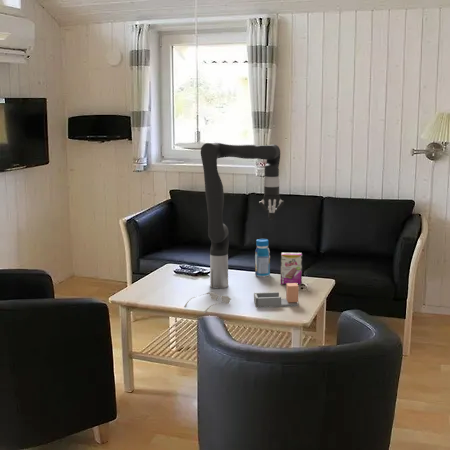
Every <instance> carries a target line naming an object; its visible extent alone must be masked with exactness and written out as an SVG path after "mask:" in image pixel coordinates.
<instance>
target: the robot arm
mask: <svg viewBox="0 0 450 450" xmlns="http://www.w3.org/2000/svg"><path fill="white" fill-rule="evenodd" d="M200 156H201V163H202V168H203V176H204V177H203V178H204V189H205V190H204V192H205V193H204V194H205V201H206V208H207V217H208V220H207V223H208V227H207V228H208V229H207V232H208V233H207V234H208V238H209V240H210V241H211V245H210V250H209V260H210V261H209V264H210V265H209V266H210V267H209V270H210V271H209V276H210V279H209V281H210V282H209V283H210V288H212V289H213V288H214V289H224V288H228V287H229V256H228V255H229V246H230V245H229V244H230V243H229V242H230V238H229V237H230V236H229V235H230V233H229V227H228V226H227V225H226V224H225V223H224V221H223V210H224V203H225V195H224V186H223V182H222V179H221V177H220V174H219V170H218V159H222V158H223V159H224V158H238V159H247V160H256V159H257V160H266V164H265V166H264V180H263V198H262V199H261V201H258V203H259V204H260V206H261V207H262V208H263V210H264V211H265V212H267V213H268V219H269V221H274V220H275V218H276V216H275V214H276V212H279V210H280V209H281V208H282V207H283V205H285V201H284V200H282V199H281V197H280V170H279V166H280V160H281V149H280V147H279V146H278V145H277V144H274V143H273V144H269V145H259V144H226V143H221V142H217V141H209V142H205V143H204V144H203V145H202V146H201V148H200ZM265 205H267V207H266V206H265Z"/></svg>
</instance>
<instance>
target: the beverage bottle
mask: <svg viewBox="0 0 450 450" xmlns="http://www.w3.org/2000/svg"><path fill="white" fill-rule="evenodd" d="M255 242H256V249H255V251H254V253H255V255H254V259H255V261H254V262H255V263H254V267H255V268H254V270H255V271H254V272H255V276H256V277H259V278H266V277H267V278H268V277H269V276H270V275H271V266H270V265H271V264H270V263H271V260H270V259H271V255H270V254H271V251H270V248H269V239H268V238H259V239H256V241H255Z"/></svg>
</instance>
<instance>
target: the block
mask: <svg viewBox="0 0 450 450" xmlns="http://www.w3.org/2000/svg"><path fill="white" fill-rule="evenodd" d="M285 285H286V287H285V288H286V290H285V291H286V296H285V297H286V298H285V299H286V300H287V302H297V303H299V288H300V287H299V286H300V285H298V284H297V283H286V284H285Z"/></svg>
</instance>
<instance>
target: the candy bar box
mask: <svg viewBox="0 0 450 450" xmlns="http://www.w3.org/2000/svg"><path fill="white" fill-rule="evenodd" d="M302 275H303V253H302V252H281V253H280V285H286V283H298V284H301V285H302V283H303V281H302V278H303V277H302Z"/></svg>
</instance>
